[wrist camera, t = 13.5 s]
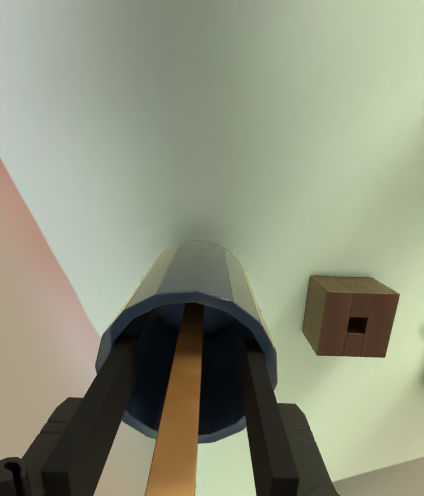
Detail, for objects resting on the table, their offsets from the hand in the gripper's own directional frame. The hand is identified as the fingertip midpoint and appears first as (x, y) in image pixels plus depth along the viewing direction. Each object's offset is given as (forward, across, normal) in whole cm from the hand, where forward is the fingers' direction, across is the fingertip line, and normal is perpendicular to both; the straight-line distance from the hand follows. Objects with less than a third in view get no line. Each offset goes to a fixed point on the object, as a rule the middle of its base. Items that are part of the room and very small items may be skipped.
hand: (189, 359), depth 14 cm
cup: (+9, 0, 0) cm, 9 cm away
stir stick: (+8, 0, 0) cm, 8 cm away
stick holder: (+19, +18, -6) cm, 27 cm away
